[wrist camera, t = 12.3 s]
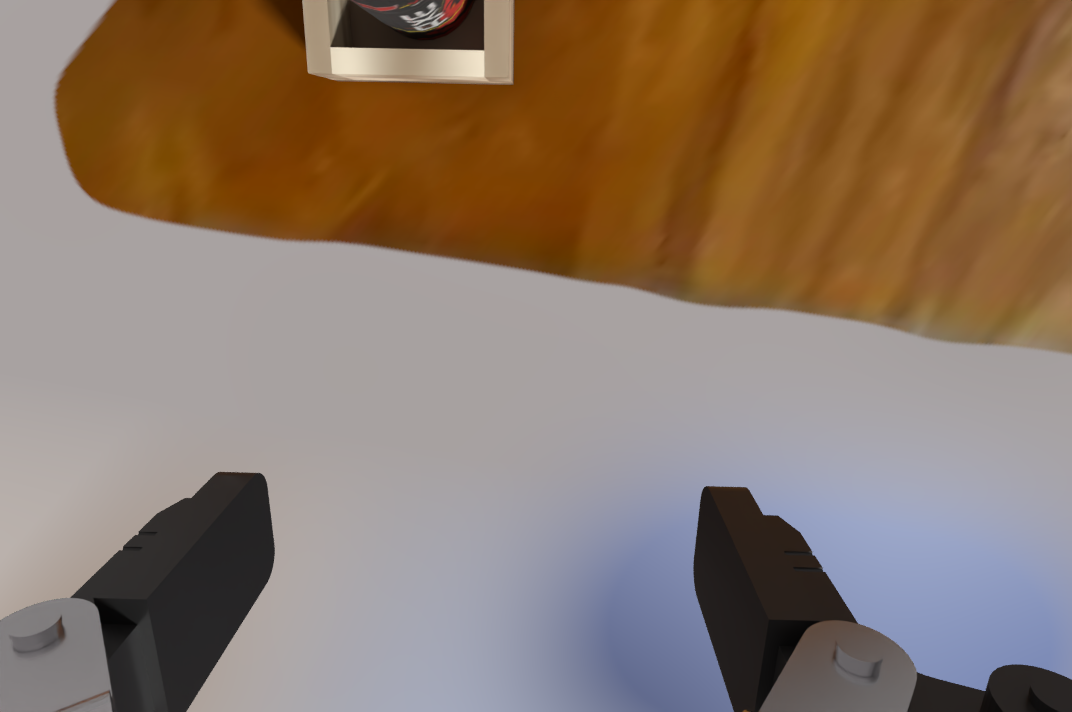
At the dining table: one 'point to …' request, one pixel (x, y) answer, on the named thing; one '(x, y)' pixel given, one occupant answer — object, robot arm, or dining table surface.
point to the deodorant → (419, 16)
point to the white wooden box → (409, 46)
